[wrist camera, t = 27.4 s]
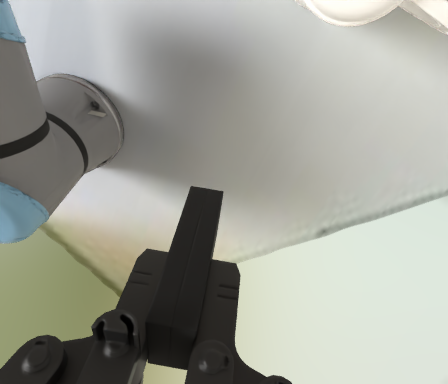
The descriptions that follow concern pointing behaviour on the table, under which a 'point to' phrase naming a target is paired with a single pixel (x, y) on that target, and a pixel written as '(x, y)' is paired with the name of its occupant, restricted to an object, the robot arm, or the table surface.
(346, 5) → the coffeepot
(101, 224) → the table surface
